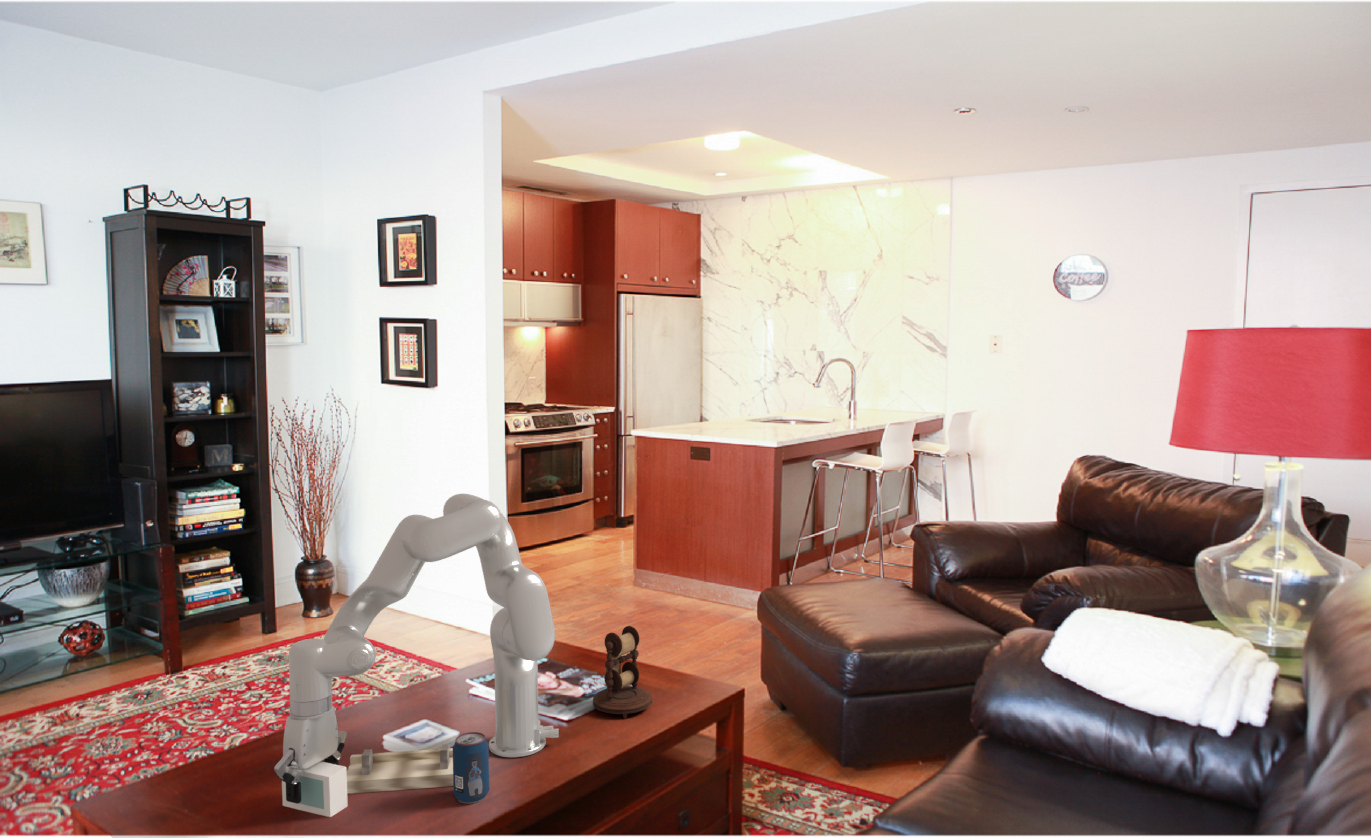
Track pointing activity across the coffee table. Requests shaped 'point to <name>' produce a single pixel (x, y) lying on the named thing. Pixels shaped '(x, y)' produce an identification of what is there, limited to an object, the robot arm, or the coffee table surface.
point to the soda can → (470, 767)
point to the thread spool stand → (622, 676)
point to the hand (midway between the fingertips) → (313, 790)
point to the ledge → (400, 770)
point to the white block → (321, 789)
